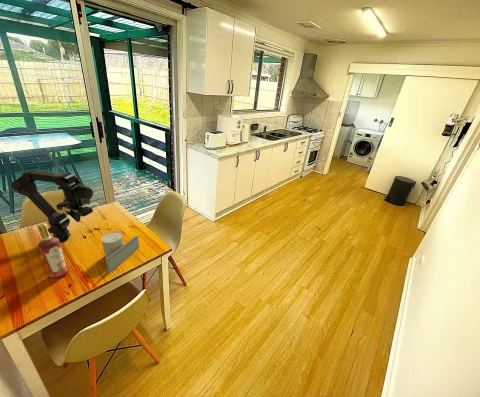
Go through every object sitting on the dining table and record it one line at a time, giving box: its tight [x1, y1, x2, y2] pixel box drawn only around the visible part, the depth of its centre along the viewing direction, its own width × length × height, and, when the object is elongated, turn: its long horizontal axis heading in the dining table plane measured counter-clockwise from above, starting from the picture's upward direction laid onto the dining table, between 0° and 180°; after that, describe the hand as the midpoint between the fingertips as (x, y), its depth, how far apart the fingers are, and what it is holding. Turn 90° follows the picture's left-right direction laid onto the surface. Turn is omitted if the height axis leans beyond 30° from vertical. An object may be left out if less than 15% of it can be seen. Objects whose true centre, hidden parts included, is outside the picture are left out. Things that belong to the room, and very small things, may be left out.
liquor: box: [37, 223, 69, 279], centre depth 101 cm, size 7×7×28 cm
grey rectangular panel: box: [104, 235, 140, 273], centre depth 118 cm, size 2×21×8 cm, turn 163°
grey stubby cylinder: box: [100, 231, 125, 259], centre depth 119 cm, size 10×10×12 cm
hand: (78, 221), depth 124 cm, fingers closed
